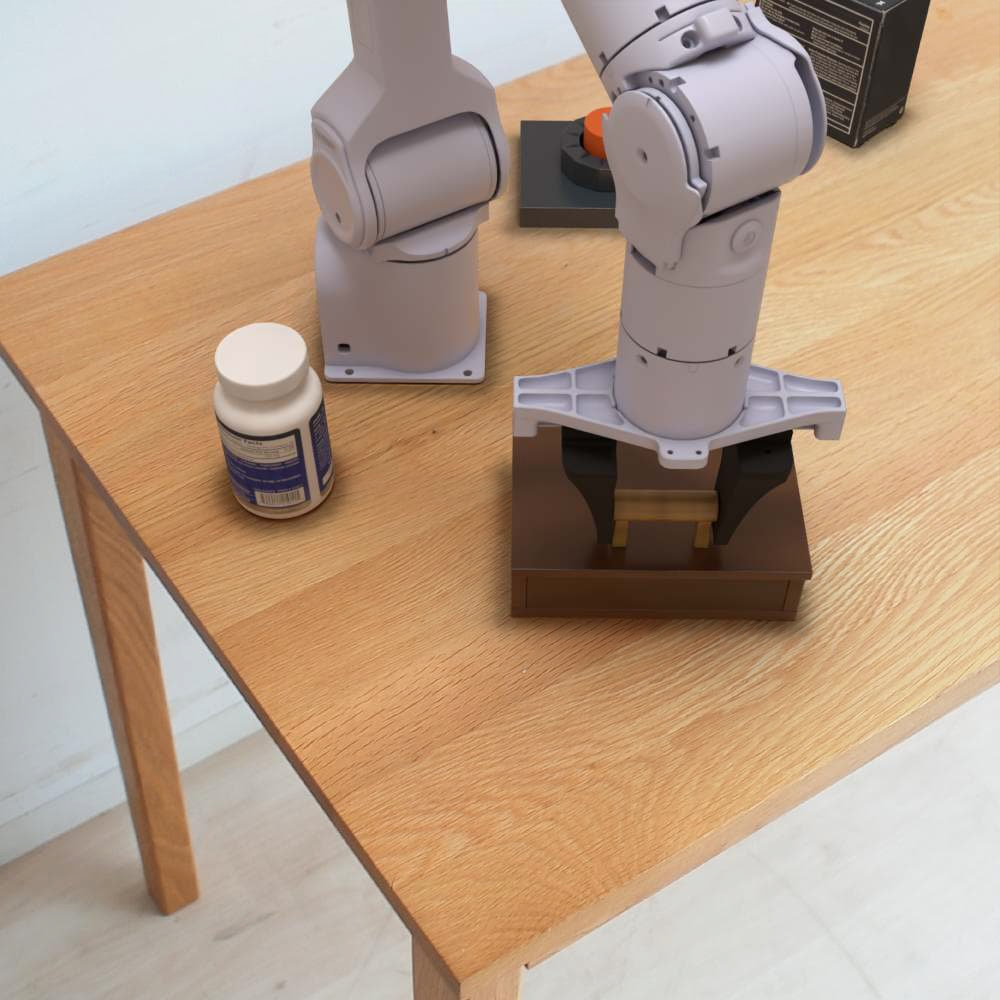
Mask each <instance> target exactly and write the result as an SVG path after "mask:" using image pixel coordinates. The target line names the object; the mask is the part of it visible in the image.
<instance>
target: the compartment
mask: <svg viewBox="0 0 1000 1000" xmlns="http://www.w3.org/2000/svg"><path fill="white" fill-rule="evenodd" d="M805 582H806V580H756V579H669V578H581V577H511V576H510V617H511V618H541V619H542V618H544V619H545V618H547V619H548V618H549V619H550V618H551V619H553V618H554V619H555V618H556V619H569V618H570V619H631V620H632V619H634V620H636V619H638V620H639V619H642V620H713V621H714V620H716V621H717V620H719V621H723V620H725V621H729V620H730V621H795V620H796V618H797V614H798V610H799V607H800V603H801V598H802V594H803V591H804V587H805Z"/></svg>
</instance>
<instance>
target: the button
mask: <svg viewBox="0 0 1000 1000" xmlns="http://www.w3.org/2000/svg"><path fill="white" fill-rule="evenodd" d="M611 107H612V106H606V107H600V108H595V109H594V110H592V111H590V112H589V113H588V114H587V115H585V116H586V118H585V122H584V141H583V145H584V148H585V150H586V151H587V152H588V153H589V154H590V155H593V156H596V157H599V158H602V159H607V157H606V153H605V148H604V143H603V135H602V114H603V113H606V114H607V115H608V116H609V112H610V110H611Z"/></svg>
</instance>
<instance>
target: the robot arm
mask: <svg viewBox="0 0 1000 1000" xmlns="http://www.w3.org/2000/svg"><path fill="white" fill-rule="evenodd" d="M345 2H346V9H347V17H348V23H349V29H350V30H349V31H350V38H351V46H352V51H353V53H352V54H353V57H352V59H351V61H350V62H349V64H348V65H347V66H346V67H345V69H344V70H343V71H342V72H341V73H340V74H339V75H338V76H337V77H336V79H335V80H334V81H333V82H332V83H331V84H330V85H329V86H328V88H327V89H326V90H325V91H324V92H323V93H322V95H321V96H320V97H319V98H318V99H317V100H316V101H315V103H314V104H313V106H312V107H311V109H310V115H311V124H310V127H311V137H312V139H311V140H312V152H311V157H310V159H309V160H310V161H309V173H310V179H311V184H312V188H313V192H314V195H315V196H314V197H315V199H316V201H317V204H318V207H319V209H320V211H321V213H320V214H319V215H318V219H317V222H316V229H315V239H314V240H315V241H314V279H315V293H316V294H315V295H316V302H317V309H318V311H317V312H318V318H319V319H318V320H319V326H320V327H319V328H320V335H321V341H322V343H321V344H322V351H323V359H324V371H323V374H324V379H325V380H326V381H328V382H330V383H405V384H407V383H415V384H416V383H417V384H419V383H421V384H423V383H424V384H480V383H482V382H483V381H484V380H485V378H486V377H485V375H486V372H485V371H486V342H487V341H486V340H487V314H488V313H487V312H488V309H487V307H488V295H487V293H486V292H484V291H483V290H480V289H479V288H480V287H479V283H480V281H479V227H480V226H481V225H482V224H483V223H485V222H488V221H489V220H490V203H491V202H494V201H496V200H498V199H500V198H502V197H503V196H504V194H505V193H506V191H507V189H508V186H509V181H510V176H511V173H512V156H511V149H510V146H509V145H510V144H509V141H508V137H507V135H506V131H505V129H504V127H503V124H502V121H501V117H500V112H499V107H498V103H497V95H496V89H495V87H494V85H493V84H492V83H491V82H490V81H489V79H488V78H487V77H486V76H485V75H484V73H482V72H481V71H480V70H479V69H478V68H477V67H475V66H474V65H473V63H470V62H469V61H467V60H465V59H464V58H461V57H460V56H457V55H455V54H453V53H452V43H451V42H452V41H451V32H450V22H449V11H448V0H345ZM560 3H561V4H562V6H563V9H564V10H565V12H566V14H567V16H568V18H569V20H570V22H571V24H572V26H573V28H574V30H575V33H576V34H577V37H578V38H579V40H580V42H581V43H582V47H583V48H584V50H585V52H586V54H587V56H588V58H589V60H590V62H591V65H592V66H593V68H594V70H595V72H596V74H597V76H598V78H599V80H600V82H601V84H602V85H603V88H604V90H605V92H606V95H607V96H608V98H609V100H610V102H611V104H612V105H611V106H610V107H611V110H610V112H609V116H608V115H607V114H606V113H603V114H602V135H603V143H604V148H605V153H606V157H607V160H608V164H609V167H610V170H611V172H612V175H613V179H614V183H615V188H616V208H615V217H616V218H617V219H618V222H619V228H618V230H619V234H621V236H623V238H624V239H625V251H624V265H623V274H622V275H623V276H622V286H621V287H622V288H621V298H620V299H621V300H620V308H619V309H620V310H619V322H618V336H617V347H616V357H613V358H608V359H605V360H600V361H596V362H592V363H588V364H587V363H586V364H583V365H579V366H575V367H571V368H567V369H562V370H557V371H554V372H549V373H543V374H534V375H514V376H513V388H512V389H513V392H512V393H513V395H512V396H513V397H512V399H513V400H512V401H513V402H512V437H513V436H514V437H534V436H536V435H537V433H538V427H561V442H562V464H563V468H564V471H565V473H566V476H567V478H568V479H569V480H570V481H571V482H572V483H573V484H574V485H575V486H576V488H577V489H578V490H579V492H580V493H581V494H582V496H583V497H584V499H585V501H586V503H587V505H588V507H589V509H590V511H591V514H592V516H593V519H594V522H595V526H596V530H597V542H598V543H599V544H612V540H613V515H612V507H613V499H614V493H615V487H616V483H617V479H618V474H617V455H616V447H617V440H619V441H622V442H626V443H630V444H633V445H637V446H641V447H644V448H648V449H652V450H655V451H656V452H657V453H658V460H659V463H660V465H662V466H663V467H665V468H669V469H700V468H703V467H704V466H706V465H707V461H708V455H709V451H710V450H714V449H718V448H721V447H723V449H722V457H721V462H720V467H719V471H718V475H717V479H716V483H715V487H714V490H715V491H717V492H718V496H719V514H718V519H717V521H716V522H712V531H713V540H714V545H727V544H728V543H729V541H730V539H731V537H732V535H733V533H734V532H735V530H736V528H737V527H738V525H739V524H740V522H741V521H742V520H743V518H744V517H745V516H746V514H747V513H748V512H749V510H750V509H751V508H752V507H753V506H754V505H755V504H756V503H757V502H758V501H759V500H760V499H761V498H762V497H763V496H764V495H765V494H767V493H768V492H769V491H771V490H772V489H774V488H775V487H777V486H779V485H781V484H783V483H785V482H786V481H787V479H788V477H789V475H790V473H791V470H792V467H793V462H795V457H794V449H793V445H792V439H793V435H794V430H795V431H797V430H801V431H803V430H804V431H808V430H809V431H813V436H814V437H815V438H816V439H817V440H819V441H840V439H841V435H842V432H843V427H844V423H845V421H846V420H845V419H846V415H847V411H848V408H847V403H846V399H845V393H844V389H843V384H842V380H840V379H833V378H819V377H813V376H812V377H811V376H807V375H806V376H805V375H802V374H796V373H792V372H789V371H785V370H781V369H776V368H773V367H768V366H766V365H761V364H757V363H752V359H753V352H754V347H755V342H756V336H757V330H758V326H759V321H760V314H761V310H762V303H763V298H764V292H765V287H766V281H767V276H768V271H769V264H770V260H771V254H772V247H773V242H774V237H775V230H776V226H777V219H778V215H779V209H780V203H781V198H782V192H783V191H782V190H781V189H780V188H781V187H782V186H785V185H787V184H789V183H791V182H793V181H795V180H796V179H797V178H798V177H801V176H804V175H806V174H807V173H809V172H810V171H811V170H813V169H814V167H815V166H816V165H817V163H818V162H819V160H820V159H821V156H822V154H823V152H824V149H825V146H826V141H827V112H826V105H825V100H824V96H823V92H822V89H821V86H820V83H819V80H818V78H817V76H816V74H815V71H814V68H813V65H812V62H811V59H810V56H809V55H808V53H807V52H806V50H805V49H804V48H803V47H802V46H801V44H800V43H799V42H798V41H797V40H796V39H795V38H793V37H792V36H791V35H790V34H788V33H787V32H785V31H784V30H782V29H780V28H778V27H776V26H774V25H772V24H771V23H770V22H769V21H768V20H767V19H766V17H765V16H764V14H763V12H762V10H761V8H760V7H755V3H754V2H753V1H748V2H746V3H743V2H740V1H739V0H560ZM779 187H780V188H779Z"/></svg>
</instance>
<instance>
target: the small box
mask: <svg viewBox="0 0 1000 1000" xmlns="http://www.w3.org/2000/svg"><path fill="white" fill-rule="evenodd" d="M931 1H932V0H755V3H754V6H755V7H760V8H761V10H762V12H763V14H764V16H765V17H766V19H767V20H768V21H769V22H770V23H771V24H772V25H774V26H776V27H778V28H780V29H782V30H784V31H785V32H787V33H788V34H790V35H791V36H792V37H793V38H795V39H796V40H797V41H798V42H799V43H800V44H801V46H802V47H803V48H804V49H805V50H806V52H807V53H808V55H809V56H810V59H811V62H812V65H813V68H814V71H815V74H816V76H817V78H818V80H819V83H820V86H821V89H822V92H823V96H824V100H825V105H826V112H827V135H828V136H830V137H832V138H833V139H835V140H837V141H839V142H841V143H842V144H845V145H847V146H849V147H851V148H857V147H858V146H860V145H862V144H863V143H865V141H867V140H869V139H870V138H872V137H873V136H874V135H876V134H877V133H879V132H880V131H882V130H884V129H885V128H886V127H888V126H889V125H892V124H893V123H895V122H896V121H897V120H899V119H900V118H902V117H903V116H904V114H905V108H906V104H907V100H908V96H909V91H910V87H911V83H912V79H913V75H914V71H915V67H916V64H917V58H918V54H919V50H920V46H921V42H922V38H923V35H924V31H925V26H926V22H927V18H928V15H929V10H930V6H931ZM827 135H826V136H827Z"/></svg>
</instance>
